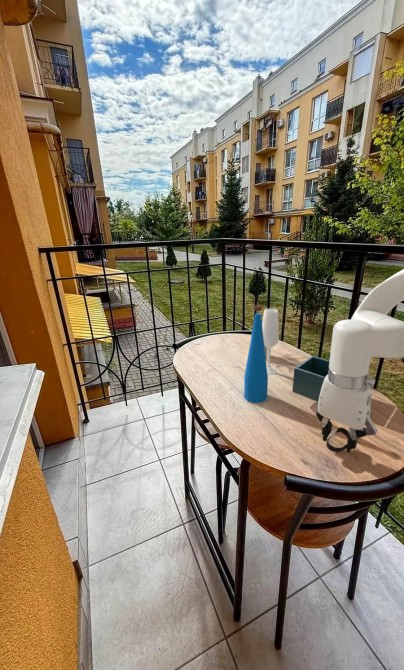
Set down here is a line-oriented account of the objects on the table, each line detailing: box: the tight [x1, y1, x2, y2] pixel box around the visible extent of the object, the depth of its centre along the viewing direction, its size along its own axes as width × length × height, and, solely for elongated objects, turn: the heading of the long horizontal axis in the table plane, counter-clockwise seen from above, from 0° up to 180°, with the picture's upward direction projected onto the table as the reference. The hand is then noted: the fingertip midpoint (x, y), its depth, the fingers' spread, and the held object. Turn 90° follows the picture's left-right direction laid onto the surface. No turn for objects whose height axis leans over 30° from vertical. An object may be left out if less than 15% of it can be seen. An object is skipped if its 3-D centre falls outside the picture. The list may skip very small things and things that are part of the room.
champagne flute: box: [262, 308, 280, 376], centre depth 104 cm, size 7×7×24 cm
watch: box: [325, 427, 350, 453], centre depth 67 cm, size 8×5×4 cm, turn 131°
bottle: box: [243, 304, 269, 404], centre depth 86 cm, size 7×7×30 cm
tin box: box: [291, 355, 330, 402], centre depth 91 cm, size 16×13×9 cm
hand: (338, 442), depth 67 cm, fingers closed on watch, 4 cm apart
